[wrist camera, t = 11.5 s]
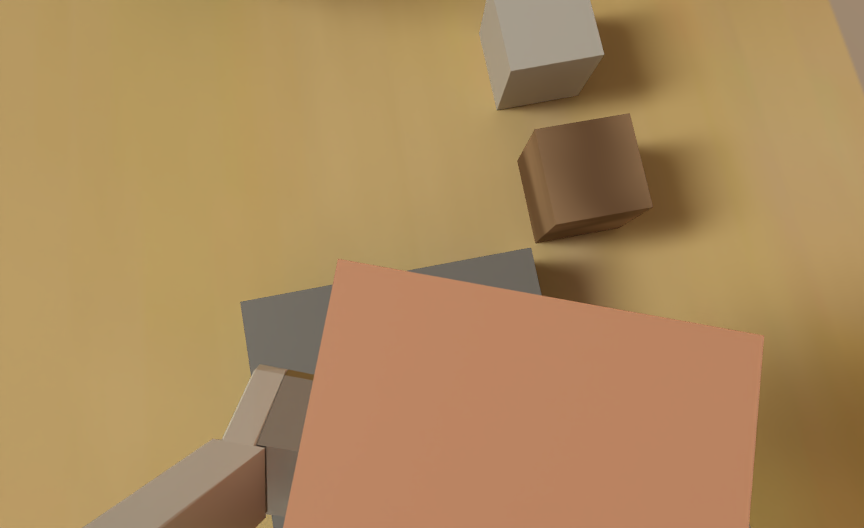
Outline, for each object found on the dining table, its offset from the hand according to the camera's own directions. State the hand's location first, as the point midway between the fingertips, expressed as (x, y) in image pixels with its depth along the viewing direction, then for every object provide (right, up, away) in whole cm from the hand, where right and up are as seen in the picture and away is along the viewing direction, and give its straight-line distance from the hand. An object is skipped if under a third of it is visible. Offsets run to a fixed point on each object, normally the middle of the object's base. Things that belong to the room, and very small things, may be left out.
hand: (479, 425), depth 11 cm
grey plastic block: (+4, +14, +22) cm, 26 cm away
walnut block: (+6, +7, +20) cm, 22 cm away
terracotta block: (0, -2, +6) cm, 6 cm away
